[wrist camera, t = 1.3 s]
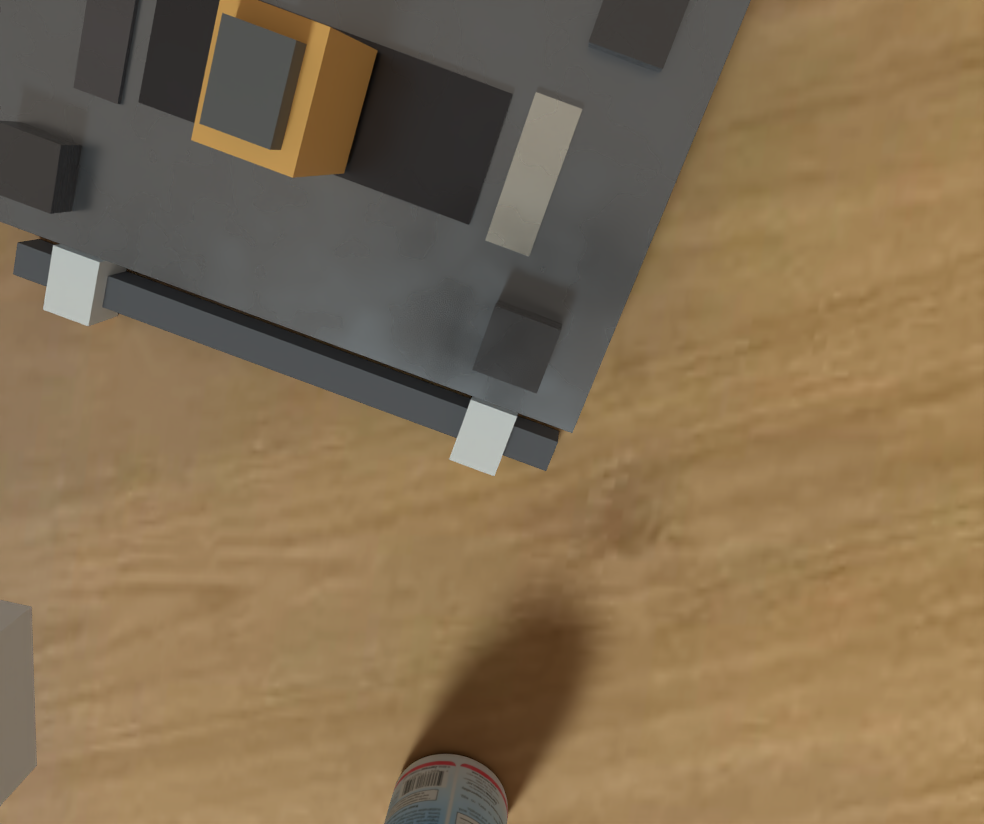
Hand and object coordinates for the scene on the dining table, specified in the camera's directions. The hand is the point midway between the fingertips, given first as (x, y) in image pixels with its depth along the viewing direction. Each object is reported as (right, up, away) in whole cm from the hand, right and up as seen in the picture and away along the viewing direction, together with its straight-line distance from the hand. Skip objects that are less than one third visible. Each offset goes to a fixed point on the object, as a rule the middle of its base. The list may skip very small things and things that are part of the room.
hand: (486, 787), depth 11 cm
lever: (-6, +15, +15) cm, 22 cm away
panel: (-5, +17, +21) cm, 27 cm away
